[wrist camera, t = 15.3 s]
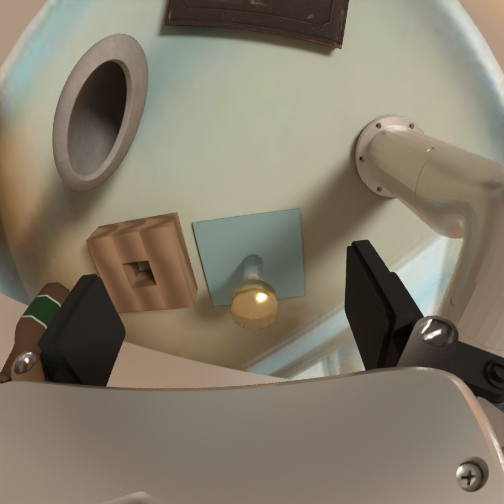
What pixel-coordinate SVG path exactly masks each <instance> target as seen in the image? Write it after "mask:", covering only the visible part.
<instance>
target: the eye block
mask: <svg viewBox="0 0 504 504" xmlns="http://www.w3.org/2000/svg"><path fill="white" fill-rule="evenodd" d="M86 242H87V245H88V248H89V250H90V253H91V255H92V258H93V260H94V263H95V265H96V267H97V270H98V272H99V275H100V277H101V279H102V280H103V283H104V285H105V287H106V289H107V292H108V294H109V296H110V298H111V300H112V303H113V305H114V307H115V309H116V311H117V313H121V312H137V311H151V310H164V309H176V308H188V307H194V303H195V298H196V293H197V289H198V288H197V284H196V281H195V277H194V274H193V270H192V267H191V263H190V259H189V256H188V252H187V248H186V244H185V241H184V237H183V233H182V229H181V225H180V221H179V217H178V213H171V214H165V215H159V216H153V217H148V218H142V219H136V220H131V221H125V222H120V223H115V224H109V225H104V226H99V227H98V228H97V229H96V230H95V231H94V232H93V233H92V235H91V236H90V237H89V238H88V239H87V240H86ZM147 260H148V261H149V264H150V267H151V270H146V271H139V268H138V265H137V262H139V261H147Z"/></svg>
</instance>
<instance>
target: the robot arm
mask: <svg viewBox="0 0 504 504" xmlns="http://www.w3.org/2000/svg"><path fill="white" fill-rule="evenodd" d="M376 124H377V127H376ZM409 124H410V126H409ZM360 157H362V158H361V159H359V158H360ZM355 163H356V168H357V171H358V174H359V176H360V178H361V179H362V181H363V182H364V183H365V184H366V186H367V187H368V188H370V189H371V190H372V191H373V192H375V193H377V194H379V195H382V196H384V197H396V198H397V199H399V200H400V201H401V202H402V203H403V204H404V205H406V206H407V207H408V208H409V209H410V210H411V211H412V212H413V213H415V214H416V215H417V216H418V217H419V218H420V219H421V220H422V221H423V222H425V223H426V224H427V225H428V226H429V227H430V228H431V229H433V230H434V231H435V232H437V233H438V234H440V235H442V236H445V237H449V238H455V239H458V238H464V240H463V243H462V246H461V249H460V252H459V257H458V260H457V263H456V266H455V268H454V271H453V273H452V276H451V278H450V281H449V283H448V286H447V288H446V291H445V293H444V296H443V298H442V300H441V303H440V306H439V308H438V311H437V314H436V316H427V317H424V316H423V314H422V313H421V311H420V310H419V308H418V306H417V305H416V303H415V302H414V300H413V298H412V297H411V295H410V294H409V292H408V291H407V289H406V288H405V286H404V285H403V283H402V282H401V280H400V279H399V277H398V276H397V274H396V273H395V272H390V271H389V269H388V268H387V266H386V265H385V263H384V262H383V261H382V259H381V258H380V256H379V255H378V253H377V252H376V250H375V249H374V247H373V246H372V245H371V243H370V242H369V240H360V241H353V242H352V244H351V246H348V247H347V259H346V288H345V313H346V316H347V319H348V321H349V324H350V327H351V330H352V332H353V335H354V338H355V341H356V344H357V347H358V349H359V352H360V355H361V358H362V361H363V364H364V367H365V370H366V371H359V372H352V373H346V374H339V375H333V376H326V377H319V378H311V379H303V380H295V381H287V382H279V383H269V384H258V385H246V386H231V387H213V388H178V389H177V388H171V389H162V388H160V389H158V388H156V389H154V388H122V387H121V388H120V387H106V385H107V383H108V380H109V377H110V374H111V371H112V369H113V366H114V363H115V361H116V358H117V356H118V353H119V350H120V348H121V345H122V343H123V340H124V338H125V333H126V332H125V327H124V325H123V323H122V321H121V319H120V317H119V315H118V313H117V311H116V309H115V307H114V305H113V303H112V300H111V298H110V296H109V294H108V292H107V289H106V287H105V285H104V283H103V280H102V279H101V278H100V277H98V276H97V275H96V274H90V275H83V276H82V277H81V278H80V279H79V281H78V282H77V284H76V285H75V286H74V288H73V289H72V291H71V292H70V294H69V295H68V296H67V298H66V299H65V301H64V302H63V304H62V305H61V307H60V308H59V310H58V311H57V313H56V314H55V316H54V317H53V319H52V321H51V322H50V324H49V325H48V327H47V328H46V330H45V332H44V333H43V335H42V337H41V338H40V340H39V341H38V343H37V345H38V346H39V348H40V349H41V353H40V354H39V353H38V352H37V351H36V350H27V351H25V352H23V353H21V354H20V355H19V356H18V357H17V358H16V359H15V360H14V362H13V364H12V367H11V376H12V377H11V378H9V379H8V380H6V381H5V382H3V383H2V384H0V504H504V164H502V163H499V162H495V161H492V160H489V159H487V158H484V157H481V156H479V155H476V154H474V153H471V152H469V151H467V150H464V149H462V148H459V147H457V146H454V145H452V144H449V143H447V142H444V141H441V140H439V139H436V138H433V137H431V136H428V135H425V133H424V132H423V131H422V129H421V128H420V127H419V126H418V125H417V124H416V123H415V122H413V121H412V120H410V119H408V118H405V117H403V116H398V115H386V116H382V117H379V118H377V119H375V120H374V121H372V122H371V123H369V124H368V125H367V127H366V128H365V129H364V130H363V131H362V133H361V135H360V136H359V139H358V142H357V144H356V150H355ZM378 187H379V188H378ZM377 188H378V189H377Z"/></svg>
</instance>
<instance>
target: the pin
mask: <svg viewBox="0 0 504 504" xmlns="http://www.w3.org/2000/svg"><path fill="white" fill-rule="evenodd" d="M277 315H278V304H277V296H276V292H275V290H274V288H273V287H272V286H271V285H270V284H269V283H267V282H265V281H264V273H263V261H262V258H261V257H260V256H258V255H255V254H251V255H248V256H247V257H246V258H245V259H244V270H243V282H242V283H240V284H238V285H237V286H236V287H235V289H234V290H233V292H232V299H231V316H232V318H233V320H234V321H235V322H236V323H237V324H238V325H240V326H241V327H244V328H247V329H261V328H264V327H267V326H269V325H270V324H272V323H273V322H274V321H275V319H276V318H277Z"/></svg>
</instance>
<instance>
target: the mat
mask: <svg viewBox="0 0 504 504" xmlns="http://www.w3.org/2000/svg"><path fill="white" fill-rule="evenodd" d="M193 228H194V232H195V236H196V240H197V244H198V249H199V253H200V257H201V260H202V264H203V268H204V272H205V276H206V280H207V284H208V287H209V291H210V295H211V299H212V302H213V306H214V307H215V306H225V305H231V299H232V292H233V290H234V289H235V287H236V286H237V285H238V284H240V283H242V282H243V270H244V259H245V258H246V257H247V256H248V255H251V254H255V255H258V256H260V257H261V258H262V261H263V273H264V281H265V282H267V283H269V284H270V285H271V286H272V287H273V288H274V290H275V292H276V296H277V300H278V299H286V298H293V297H301V296H305V283H304V265H303V248H302V233H301V219H300V209H291V210H283V211H275V212H267V213H259V214H251V215H243V216H236V217H229V218H221V219H214V220H207V221H200V222H194V223H193Z"/></svg>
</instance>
